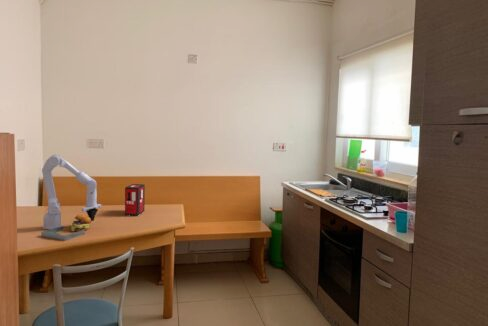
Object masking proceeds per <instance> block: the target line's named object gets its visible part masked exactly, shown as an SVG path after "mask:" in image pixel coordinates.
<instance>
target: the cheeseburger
mask: <svg viewBox="0 0 488 326" xmlns="http://www.w3.org/2000/svg"><path fill="white" fill-rule="evenodd" d="M74 219H75V220H73V221H72V223H71V225H70V227H71V229H70V230H71V232H72V233H74V232H77V231H80V230H83V229H84V230H85V231H88V229H89V228H90V224H91V223H92V221H91V218H90V217H89V216H83V214H77V215H76V216H75V217H74Z"/></svg>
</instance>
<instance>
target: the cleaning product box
mask: <svg viewBox="0 0 488 326" xmlns="http://www.w3.org/2000/svg"><path fill="white" fill-rule="evenodd" d="M145 186H146V185H145V184H143V183H142V184H141V183H140V184H139V183H131V184H130V185H128V186H127V185H126V187H124V216H125V215H130V216H129V217H139V216H140V215H141V214H143V213H144V212H145V191H146V190H145ZM143 211H144V212H143ZM142 212H143V213H142ZM139 214H140V215H139ZM138 215H139V216H138Z"/></svg>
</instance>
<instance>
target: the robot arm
mask: <svg viewBox="0 0 488 326" xmlns="http://www.w3.org/2000/svg"><path fill="white" fill-rule="evenodd" d="M57 167H59V168H65V169H66V170H68V171H69V173H72V174H73V175H74V176H75V179H76V180H77V181H79V182H80V183H81V184H83V186H86V189H87V191H86V205H85V207H84V206H83V207H81V211H82V212H86V213H87V217H90V218H91V222H94V221H95V218H96V217H95V216H96V214H97V212H98V210H99V209H98V208H101V207H102V203H97V202H98V201H97V199H98V197H97V196H98V195H97V193H98V192H97V190H98V189H97V187H98V183H97V181H96V180H95V179H94V178H93V177H92V176H91V177H90V176H89V175H88V173H87V172H86V171H83V170H82V171H80V170H78V168H76V167H75V166H74V165H72V164H71V163H70V162H69V161H68V160H66V159H65V158H63V157H61V156H60V155H58V154H52V155H51V156H49V157H48V159H46V161H45V163H44V165H43V167H42V168H41V174H42V177H43V182H44V183H43V184H44V188H45V192H46V197H47V205H48V207H47V212H46V213H45V214H44V216H43V223H42V225H43V227H42V229H43V230H50V229H54V228H57V227H60V226H63V229H64V228H65V226H64V225H62V212H61V211H60V209H61V207H62V206H61V203H60V202H59V200H58V197H57V192H56V188H55V184H54V178H53V172H52V171H53V170H54V169H55V168H57Z"/></svg>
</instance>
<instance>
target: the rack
mask: <svg viewBox="0 0 488 326" xmlns="http://www.w3.org/2000/svg"><path fill="white" fill-rule="evenodd" d="M63 226H64V225H61V226H60V227H57V228H54V229H50V230H49V229H46V230H44V231H41V233H40V236H41V238H42V237H43V238H48V239H53V240H59V241H69V240H70V239H74V238H76V237H79V236H82V235H85V234H86V230H84V229H83V230H80V231H74V232H72V233H68V234H65V235H64V234H60V233H59V232H63V231H64V228H63Z"/></svg>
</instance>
